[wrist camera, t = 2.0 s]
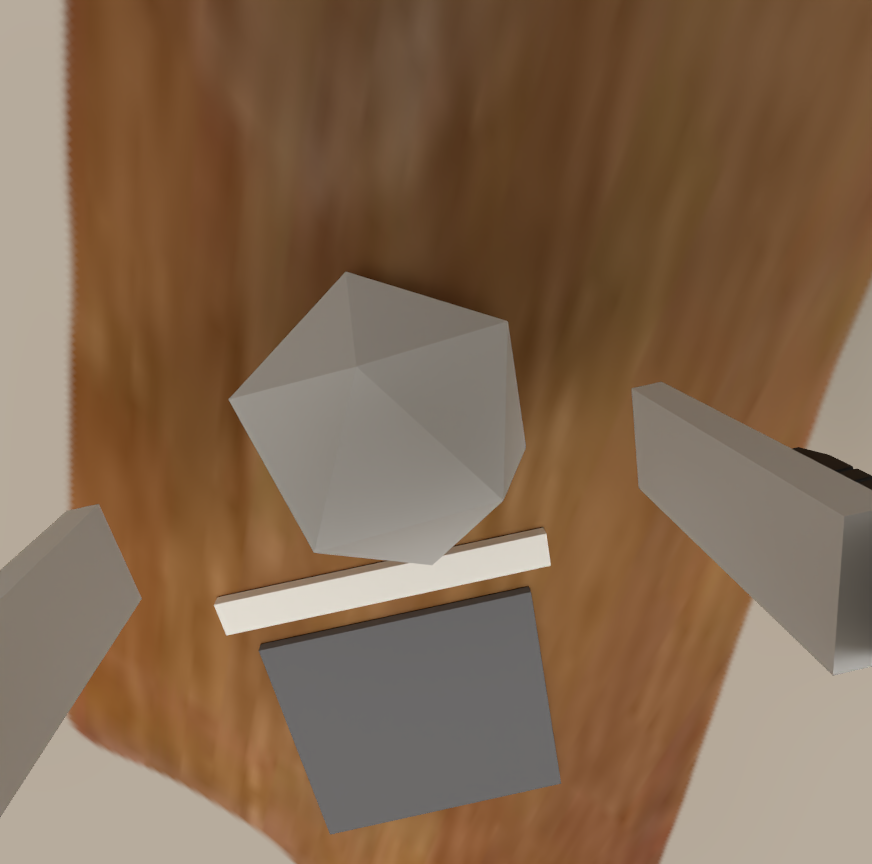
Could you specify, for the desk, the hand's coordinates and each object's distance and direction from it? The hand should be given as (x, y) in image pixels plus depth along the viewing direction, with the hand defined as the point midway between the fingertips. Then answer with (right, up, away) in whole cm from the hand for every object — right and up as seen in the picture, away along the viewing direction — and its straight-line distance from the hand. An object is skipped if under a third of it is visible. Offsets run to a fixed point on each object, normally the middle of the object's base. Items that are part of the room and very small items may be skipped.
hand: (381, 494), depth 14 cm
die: (0, +3, +8) cm, 8 cm away
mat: (+1, -11, +13) cm, 17 cm away
